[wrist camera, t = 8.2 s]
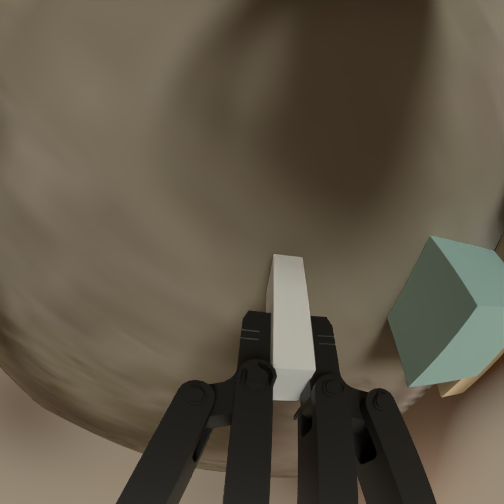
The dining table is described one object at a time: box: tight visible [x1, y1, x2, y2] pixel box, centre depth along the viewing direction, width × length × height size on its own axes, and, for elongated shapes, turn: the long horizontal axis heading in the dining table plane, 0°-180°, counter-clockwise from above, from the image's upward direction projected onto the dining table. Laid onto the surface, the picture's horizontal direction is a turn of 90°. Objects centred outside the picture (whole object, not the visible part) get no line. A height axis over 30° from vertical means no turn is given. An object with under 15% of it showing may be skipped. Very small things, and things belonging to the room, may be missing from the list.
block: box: [387, 236, 504, 387], centre depth 13 cm, size 7×7×6 cm
